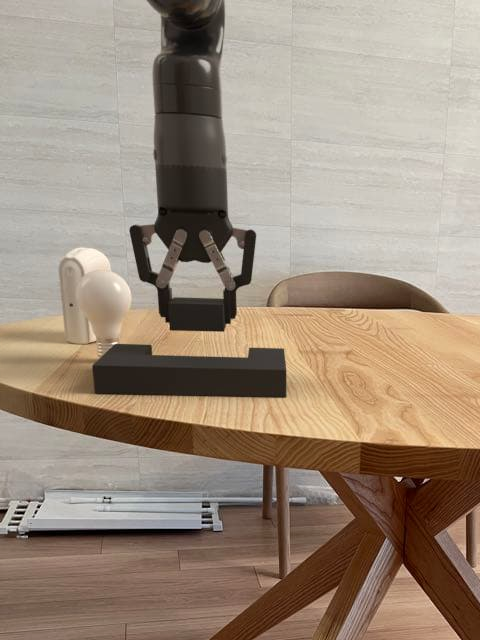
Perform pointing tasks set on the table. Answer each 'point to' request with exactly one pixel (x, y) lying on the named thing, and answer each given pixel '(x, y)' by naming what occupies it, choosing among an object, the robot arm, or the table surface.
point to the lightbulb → (104, 305)
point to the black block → (196, 314)
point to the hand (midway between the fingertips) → (198, 322)
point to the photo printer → (69, 276)
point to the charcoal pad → (190, 373)
